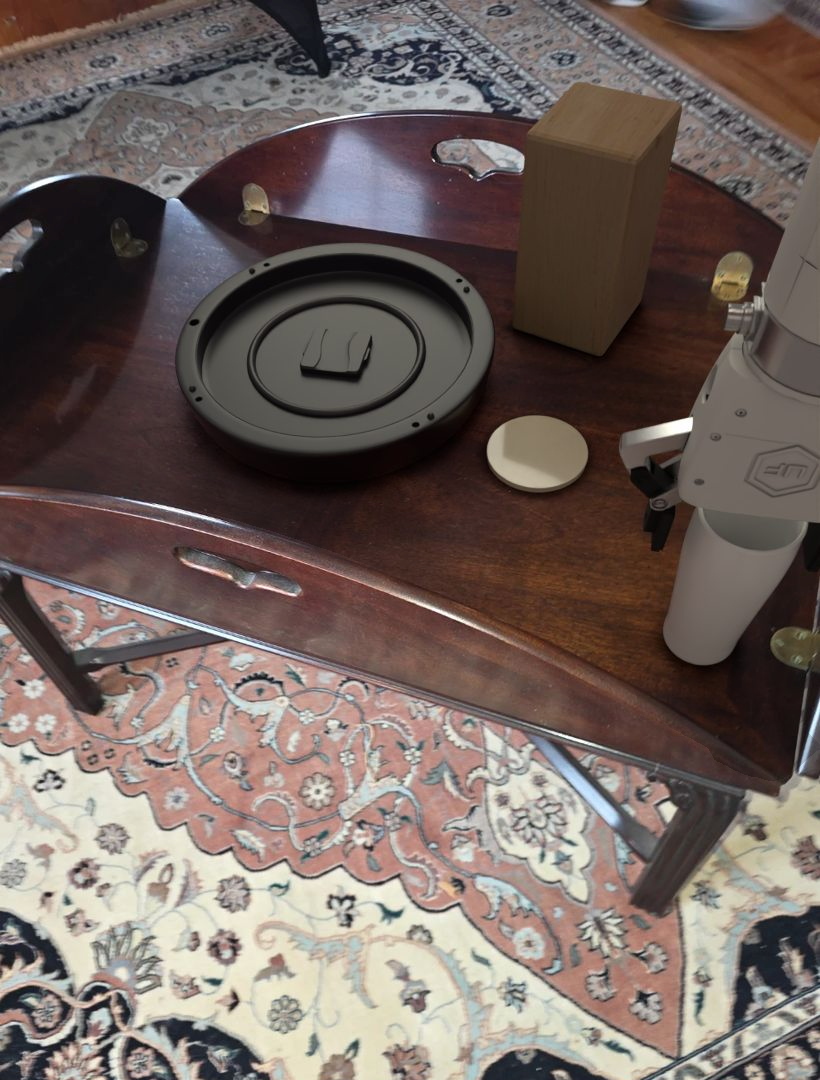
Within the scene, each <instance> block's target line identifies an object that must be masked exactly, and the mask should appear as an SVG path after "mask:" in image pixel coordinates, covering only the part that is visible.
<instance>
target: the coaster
mask: <svg viewBox="0 0 820 1080" xmlns="http://www.w3.org/2000/svg"><path fill="white" fill-rule="evenodd" d="M485 453H486V461H487V465H488V467H489V469H490V471H491V472H492V473H493V475H494V476H495V477H496V478H497V479H498V480H500V481H501V482H502V483H504V484H505V485H507V486H509V487H510V488H513V489H516V490H519V491H522V492H528V493H549V492H550V493H551V492H554V491H559V490H562V489H564V488H566V487H568V486H570V485H571V484H573V483H574V482H576V481H577V480H578V479H579V478H580V477H581V476H582V475H583V473H584V471H585V469H586V468H587V463H588V459H589V449H588V444H587V442H586V439H585V438H584V437H583V435H582V434H581V433H580V431H578V430H577V428H575V427H573V425H571V424H569V423H568V422H566V421H563V420H561V419H559V418H556V417H551V416H546V415H525V416H519V417H516V418H513V419H511V420H508V421H506V422H504V423H502V424H501V425H499V427H497V428H496V429H495V430H494V432H493V433H492V434H491V435H490V437H489V439H488V441H487V445H486V452H485Z"/></svg>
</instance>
